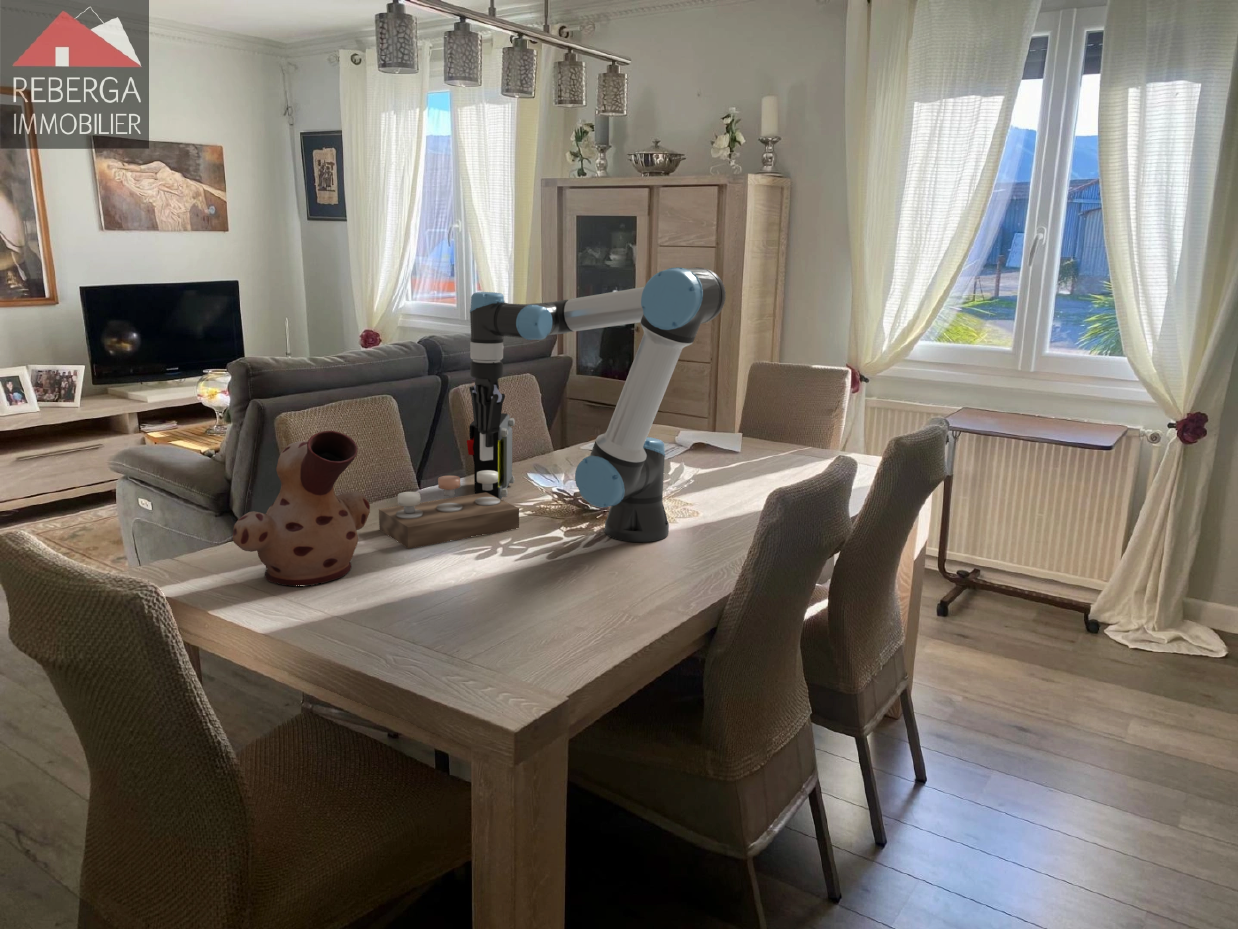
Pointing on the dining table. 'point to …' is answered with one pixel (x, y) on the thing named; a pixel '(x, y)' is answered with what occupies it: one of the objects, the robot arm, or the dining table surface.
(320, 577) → the vessel
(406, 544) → the knob bar
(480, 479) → the right knob
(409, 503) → the left knob
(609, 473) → the robot arm
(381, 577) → the dining table surface
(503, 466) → the electrical component
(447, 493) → the middle knob
